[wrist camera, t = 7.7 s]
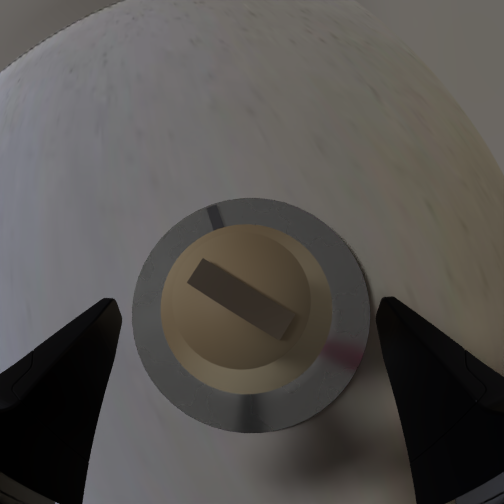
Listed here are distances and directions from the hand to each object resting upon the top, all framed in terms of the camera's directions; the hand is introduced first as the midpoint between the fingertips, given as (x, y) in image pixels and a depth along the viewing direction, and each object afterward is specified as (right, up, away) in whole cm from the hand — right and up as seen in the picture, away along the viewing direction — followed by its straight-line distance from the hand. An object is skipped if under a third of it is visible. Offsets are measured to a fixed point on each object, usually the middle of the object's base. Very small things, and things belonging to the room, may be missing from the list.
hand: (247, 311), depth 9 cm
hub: (0, -2, +9) cm, 9 cm away
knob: (0, -2, +8) cm, 8 cm away
